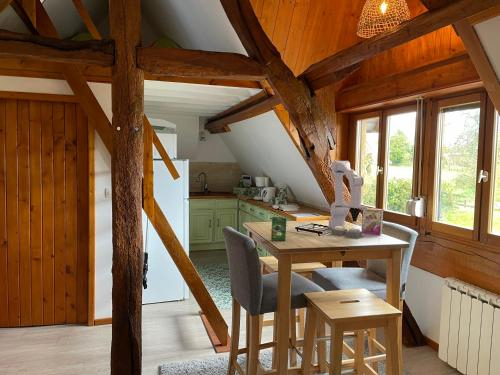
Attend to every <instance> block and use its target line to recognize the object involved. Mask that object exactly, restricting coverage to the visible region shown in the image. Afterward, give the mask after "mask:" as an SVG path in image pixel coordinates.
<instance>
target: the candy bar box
mask: <svg viewBox="0 0 500 375" xmlns="http://www.w3.org/2000/svg"><path fill="white" fill-rule="evenodd" d="M361 213H362V215H361V231H362V234H364V235H365V234H366V235H375V236H381V235H382V234H383V220H384V219H383V218H384V209H382V208H371V207H368V210H362V212H361Z"/></svg>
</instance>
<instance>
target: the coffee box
mask: <svg viewBox="0 0 500 375" xmlns="http://www.w3.org/2000/svg"><path fill="white" fill-rule="evenodd" d="M271 219H272V220H271V233H270V234H271V236H270V238H271V240H270V241H273V242H274V241H277V242H278V241H280V242H285V241H286V235H287V234H286V233H287V217H286V216H285V217H284V216H272V218H271Z"/></svg>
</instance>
